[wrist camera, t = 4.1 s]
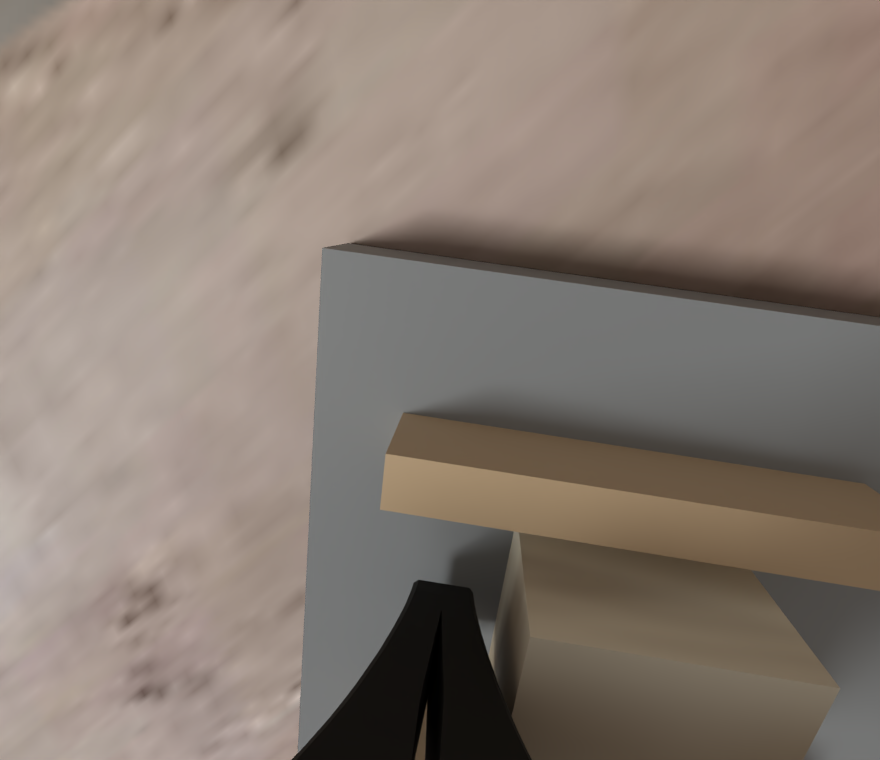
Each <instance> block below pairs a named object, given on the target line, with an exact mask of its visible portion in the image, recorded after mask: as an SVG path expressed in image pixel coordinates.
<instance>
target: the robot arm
mask: <svg viewBox="0 0 880 760" xmlns="http://www.w3.org/2000/svg"><path fill="white" fill-rule="evenodd" d="M426 704H427V720H426V745H425V760H532V759H531V757H530V755H529V753H528V751H527V749H526V747H525V745H524V743H523V741H522V738H521V736H520V734H519V732H518V730H517V728H516V725H515V723H514V721H513V719H512V716H511V714H510V712H509V709H508V707H507V704H506V702H505V699H504V697H503V694H502V692H501V689H500V687H499V684H498V681H497V679H496V676H495V673H494V670H493V667H492V664H491V661H490V659H489V656H488V653H487V650H486V646H485V643H484V640H483V636H482V633H481V629H480V625H479V622H478V617H477V613H476V608H475V603H474V596H473V592H472V591H471V589H470V588H467V587H461V586H455V585H449V584H443V583H436V582H430V581H424V580H417V581H416V582H414V583H413V586H412V589H411V592H410V594H409V597H408V599H407V602H406V604H405V606H404V608H403V610H402V612H401V614H400V616H399V617H398V619H397V621H396V623H395V625H394V627H393V628H392V630H391V632H390V633H389V635H388V637H387V638H386V640H385V642H384V643H383V645H382V647H381V648H380V650H379V651H378V653H377V654H376V656H375V657H374V659H373V660H372V662H371V663H370V665H369V666H368V667H367V669H366V670H365V672H364V673H363V675H362V676H361V678H360V679H359V680H358V682H357V683H356V685H355V686H354V687H353V688H352V690H351V691H350V692H349V694H348V695H347V696H346V698H345V699H344V700H343V702H342V703H341V704H340V705H339V706H338V708H337V709H336V710H335V711H334V713H333V714H332V715H331V716H330V718H329V719H328V720H327V721H326V722H325V723H324V725H323V726H322V727H321V728H320V729H319V730H318V731H317V732H316V734H315V735H314V736H313V737H312V738H311V739H310V740H309V742H308V743H307V744H306V745H305V746H304V747H303V748H302V749H301V750H300V751H299V752H298V754H297V755H296V756H295V757H294V758H293V759H292V760H415V756H416V752H417V747H418V742H419V737H420V733H421V728H422V723H423V718H424V714H425V709H426Z"/></svg>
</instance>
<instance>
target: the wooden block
mask: <svg viewBox="0 0 880 760" xmlns="http://www.w3.org/2000/svg"><path fill="white" fill-rule="evenodd" d="M489 659H490V661H491V664H492V667H493V670H494V673H495V676H496V679H497V681H498V684H499V687H500V689H501V692H502V694H503V697H504V699H505V702H506V704H507V707H508V709H509V712H510V714H511V716H512V719H513V721H514V723H515V725H516V728H517V730H518V732H519V734H520V736H521V738H522V741H523V743H524V745H525V747H526V749H527V751H528V753H529V755H530V757H531V759H532V760H803V759H804V757H805V755H806V753H807V751H808V749H809V748H810V746H811V744H812V742H813V740H814V738H815V736H816V734H817V732H818V730H819V728H820V727H821V725H822V723H823V721H824V719H825V717H826V715H827V713H828V711H829V709H830V707H831V706H832V704H833V702H834V700H835V698H836V696H837V694H838V692H839V690H840V687H839V686H838V685H837V683H836V682H835V681H834V679H833V678H832V677H831V675H830V674H829V673H828V671H827V670H826V669H825V667H824V666H823V665H822V663H821V662H820V661H819V660H818V658H817V657H816V656H815V654H814V653H813V652H812V650H811V649H810V648H809V646H808V645H807V644H806V642H805V641H804V640H803V638H802V637H801V636H800V634H799V633H798V632H797V630H796V629H795V628H794V626H793V625H792V624H791V622H790V621H789V620H788V619H787V617H786V616H785V615H784V613H783V612H782V611H781V609H780V608H779V607H778V605H777V604H776V603H775V601H774V600H773V599H772V597H771V596H770V595H769V593H768V592H767V591H766V589H765V588H764V587H763V585H762V584H761V583H760V581H759V580H758V579H757V578H756V576H755V575H754V574H753V572H752V571H751V570H748V569H742V568H736V567H729V566H723V565H717V564H711V563H705V562H699V561H693V560H686V559H680V558H674V557H668V556H662V555H656V554H650V553H643V552H637V551H631V550H625V549H619V548H613V547H607V546H600V545H594V544H588V543H582V542H576V541H570V540H564V539H557V538H551V537H545V536H539V535H533V534H527V533H521V532H514V533H513V538H512V543H511V548H510V553H509V558H508V563H507V567H506V572H505V577H504V582H503V587H502V592H501V597H500V602H499V607H498V612H497V617H496V622H495V627H494V632H493V637H492V641H491V646H490V651H489Z"/></svg>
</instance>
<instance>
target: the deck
mask: <svg viewBox="0 0 880 760" xmlns="http://www.w3.org/2000/svg"><path fill="white" fill-rule="evenodd" d="M514 532H521V533H527V534H533V535H539V536H545V537H551V538H557V539H564V540H570V541H576V542H582V543H588V544H594V545H600V546H607V547H613V548H619V549H625V550H631V551H637V552H643V553H650V554H656V555H662V556H668V557H674V558H680V559H686V560H693V561H699V562H705V563H711V564H717V565H723V566H729V567H736V568H742V569H748V570H751V571H752V572H753V574H754V575H755V576H756V578H757V579H758V580H759V581H760V583H761V584H762V585H763V587H764V588H765V589H766V591H767V592H768V593H769V595H770V596H771V597H772V599H773V600H774V601H775V603H776V604H777V605H778V607H779V608H780V609H781V611H782V612H783V613H784V615H785V616H786V617H787V619H788V620H789V621H790V622H791V624H792V625H793V626H794V628H795V629H796V630H797V632H798V633H799V634H800V636H801V637H802V638H803V640H804V641H805V642H806V644H807V645H808V646H809V648H810V649H811V650H812V652H813V653H814V654H815V656H816V657H817V658H818V660H819V661H820V662H821V663H822V665H823V666H824V667H825V669H826V670H827V671H828V673H829V674H830V675H831V677H832V678H833V679H834V681H835V682H836V683H837V685H838V686H839V687H840V690H839V692H838V694H837V696H836V698H835V700H834V702H833V704H832V706H831V707H830V709H829V711H828V713H827V715H826V717H825V719H824V721H823V723H822V725H821V727H820V728H819V730H818V732H817V734H816V736H815V738H814V740H813V742H812V744H811V746H810V748H809V749H808V751H807V753H806V755H805V757H804V759H803V760H880V317H874V316H867V315H859V314H852V313H845V312H838V311H831V310H824V309H816V308H809V307H802V306H795V305H788V304H781V303H773V302H766V301H759V300H752V299H745V298H738V297H730V296H723V295H716V294H709V293H702V292H695V291H687V290H680V289H673V288H666V287H659V286H652V285H644V284H637V283H630V282H623V281H616V280H608V279H601V278H594V277H587V276H580V275H573V274H565V273H558V272H551V271H544V270H537V269H530V268H522V267H515V266H508V265H501V264H494V263H487V262H479V261H472V260H465V259H458V258H451V257H444V256H436V255H429V254H422V253H415V252H408V251H401V250H393V249H386V248H379V247H372V246H365V245H357V244H350V243H347V244H342V245H336V246H330V247H325V248H322V265H321V286H320V306H319V327H318V347H317V368H316V389H315V409H314V430H313V450H312V471H311V492H310V512H309V533H308V553H307V574H306V595H305V615H304V636H303V656H302V677H301V697H300V718H299V739H298V752H299V751H300V750H301V749H302V748H303V747H304V746H305V745H306V744H307V743H308V742H309V740H310V739H311V738H312V737H313V736H314V735H315V734H316V732H317V731H318V730H319V729H320V728H321V727H322V726H323V725H324V723H325V722H326V721H327V720H328V719H329V718H330V716H331V715H332V714H333V713H334V711H335V710H336V709H337V708H338V706H339V705H340V704H341V703H342V702H343V700H344V699H345V698H346V696H347V695H348V694H349V692H350V691H351V690H352V688H353V687H354V686H355V685H356V683H357V682H358V680H359V679H360V678H361V676H362V675H363V673H364V672H365V670H366V669H367V667H368V666H369V665H370V663H371V662H372V660H373V659H374V657H375V656H376V654H377V653H378V651H379V650H380V648H381V647H382V645H383V643H384V642H385V640H386V638H387V637H388V635H389V633H390V632H391V630H392V628H393V627H394V625H395V623H396V621H397V619H398V617H399V616H400V614H401V612H402V610H403V608H404V606H405V604H406V602H407V599H408V597H409V594H410V592H411V589H412V586H413V583H414V582H416V581H417V580H424V581H430V582H436V583H443V584H449V585H455V586H461V587H467V588H470V589H471V591H472V592H473V596H474V603H475V608H476V613H477V617H478V622H479V625H480V629H481V633H482V636H483V640H484V643H485V646H486V650H487V653H488V656H489V651H490V646H491V641H492V637H493V632H494V627H495V622H496V617H497V612H498V607H499V602H500V597H501V592H502V587H503V582H504V577H505V572H506V567H507V563H508V558H509V553H510V548H511V543H512V538H513V533H514ZM426 720H427V704H426V709H425V714H424V718H423V723H422V728H421V733H420V737H419V742H418V747H417V752H416V756H415V760H425V745H426Z"/></svg>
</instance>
